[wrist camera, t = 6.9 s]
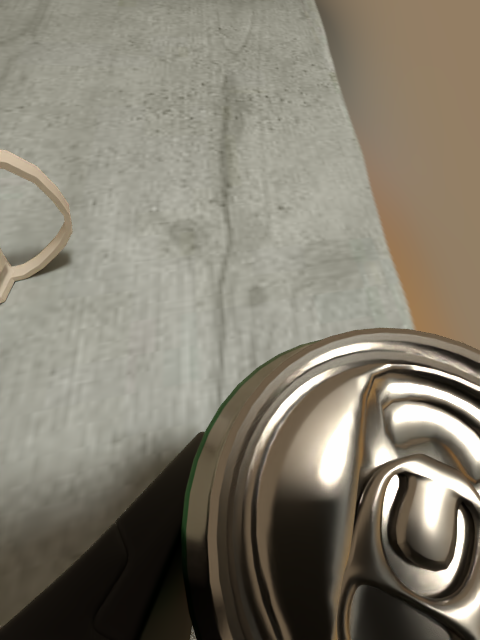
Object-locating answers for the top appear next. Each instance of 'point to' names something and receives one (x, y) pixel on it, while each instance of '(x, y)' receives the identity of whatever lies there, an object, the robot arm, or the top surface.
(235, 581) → the soda can
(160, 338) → the top surface
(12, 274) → the cup
